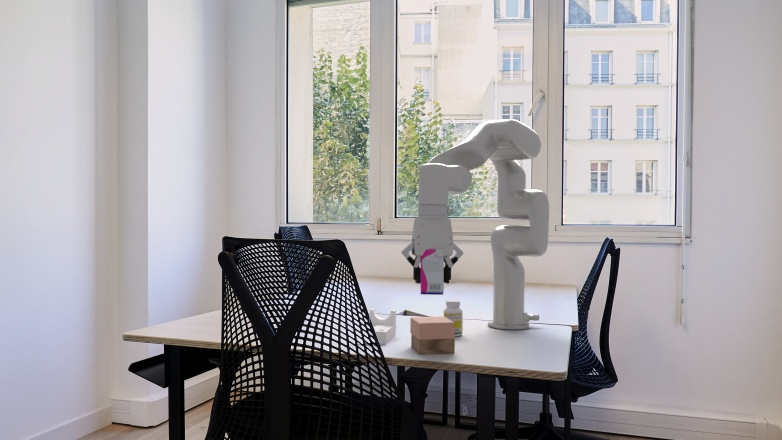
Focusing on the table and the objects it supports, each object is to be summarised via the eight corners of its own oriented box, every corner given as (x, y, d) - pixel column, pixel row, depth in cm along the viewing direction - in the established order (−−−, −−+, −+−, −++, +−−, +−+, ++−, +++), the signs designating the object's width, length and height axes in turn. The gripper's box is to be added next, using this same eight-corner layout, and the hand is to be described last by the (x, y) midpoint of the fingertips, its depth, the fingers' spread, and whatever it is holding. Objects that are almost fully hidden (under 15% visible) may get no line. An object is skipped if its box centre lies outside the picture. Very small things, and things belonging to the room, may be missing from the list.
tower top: (443, 331, 159) (443, 316, 159) (454, 338, 150) (454, 322, 150) (410, 332, 157) (410, 317, 157) (419, 339, 148) (419, 323, 148)
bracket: (371, 334, 175) (371, 308, 175) (395, 336, 173) (396, 309, 173) (359, 343, 162) (360, 315, 162) (385, 345, 160) (386, 316, 160)
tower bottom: (444, 347, 159) (444, 332, 159) (454, 354, 150) (454, 338, 150) (411, 348, 157) (411, 332, 157) (419, 356, 148) (419, 339, 148)
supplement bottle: (448, 332, 178) (448, 299, 178) (465, 334, 175) (465, 300, 175) (440, 335, 174) (440, 301, 174) (457, 337, 171) (458, 302, 171)
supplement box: (443, 292, 156) (444, 247, 156) (443, 295, 150) (443, 248, 151) (421, 291, 157) (421, 247, 157) (420, 294, 151) (420, 248, 151)
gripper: (461, 213, 159) (460, 281, 159) (396, 212, 156) (395, 281, 156) (470, 212, 152) (469, 284, 152) (402, 211, 149) (401, 284, 149)
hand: (432, 282), depth 154 cm, fingers closed on supplement box, 6 cm apart
